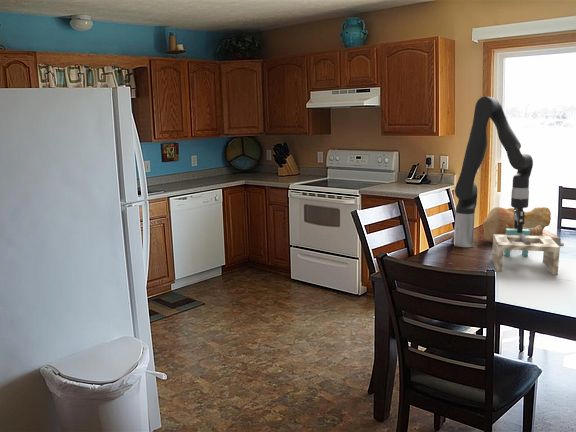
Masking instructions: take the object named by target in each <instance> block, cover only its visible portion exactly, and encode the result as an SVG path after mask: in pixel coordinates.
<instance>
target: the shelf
mask: <svg viewBox="0 0 576 432" xmlns="http://www.w3.org/2000/svg"><path fill="white" fill-rule="evenodd" d="M560 249H561V247H560V246H558V245H557V244H556V243H555V242H554V241H553V239H552V238H551V237H550V236H525V235H524V234H521V235H499V234H493V243H492V251H491V252H492V253H491V261H492V263H493V265H494V267H495V269H496V272H498V273H502V272H503V265H504V263H503V262H504V250H510V251H511V250H512V251H522V250H528V252H529V251H530V252H531V251H533V252H534V251H535V252H543V254H542V255H543V256H542V263H543V264H544V266H545V267H546V268H547V269H548V271H549V273H550V274H551V275H553V276H557V275H558V273H559V262H560V252H561V251H560Z"/></svg>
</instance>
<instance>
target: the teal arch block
mask: <svg viewBox="0 0 576 432" xmlns="http://www.w3.org/2000/svg"><path fill="white" fill-rule="evenodd" d="M521 234H524V235H525V236H529V235H530V231H529V229H523V230H522V233H518V232H517V229H510V228H506V234H505V235H521ZM503 255H504V256H506V257H510V256H511V250H505V249H504V251H503ZM521 255H522V257H524V258H527V257H529V251H528V250H521Z"/></svg>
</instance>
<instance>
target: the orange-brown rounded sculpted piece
mask: <svg viewBox="0 0 576 432" xmlns="http://www.w3.org/2000/svg"><path fill="white" fill-rule="evenodd" d="M507 209H508V208H505V207H499V206H496V207H494V208H491V210H490V211H489V212H488V214H487V215H486V218H485V220H484V221H482V226H483V234H484V238H485V241H487V242H488V243H491V244H493V234H499V235H505V234H506V228H510V229H515V228H514V222H515V221H514V218H513V217H514V213H513V212H511V211H509V210H507ZM520 222H521V221H520ZM523 229H529V231H530V235H529V236H543V230H544V229H543V228H542V226H541V225H537V226H536V227H535V228H526V227H523Z"/></svg>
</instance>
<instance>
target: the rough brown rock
mask: <svg viewBox="0 0 576 432" xmlns="http://www.w3.org/2000/svg"><path fill="white" fill-rule="evenodd" d="M506 209H507V210H509V211H511V212H513V213H514V207H509V208H506ZM524 212H525V215H524V224H523V227H526V228H535V227H536V226H537V225H541V226H542V228H543V230H544V229H545V228H546V227H550V224H551V220H552V219H551V218H552V215H551V214H552V213H551V210H550V208H548V207H546V206H543V207H534V208H533V209H532V210H530V211H524ZM521 222H522V221H521Z"/></svg>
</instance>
